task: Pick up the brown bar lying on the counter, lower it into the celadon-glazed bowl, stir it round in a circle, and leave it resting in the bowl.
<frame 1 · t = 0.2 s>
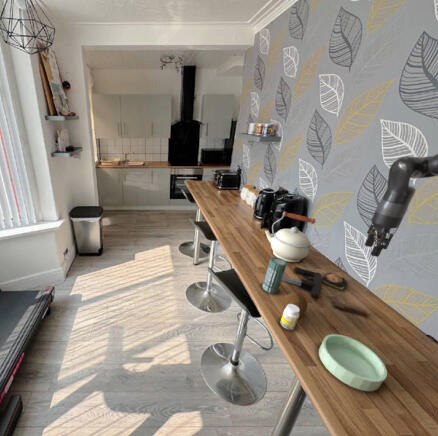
hand: (370, 250, 92), 25 cm above the table, tool pointing down, fingers open, 8 cm apart
potato: (292, 311, 94), on the table
supplement bottle: (286, 325, 88), on the table
bowl: (347, 365, 74), on the table
kettle: (283, 254, 134), on the table
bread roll: (334, 282, 113), on the table
brown bar: (350, 310, 96), on the table
can: (269, 289, 106), on the table
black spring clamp: (301, 282, 111), on the table
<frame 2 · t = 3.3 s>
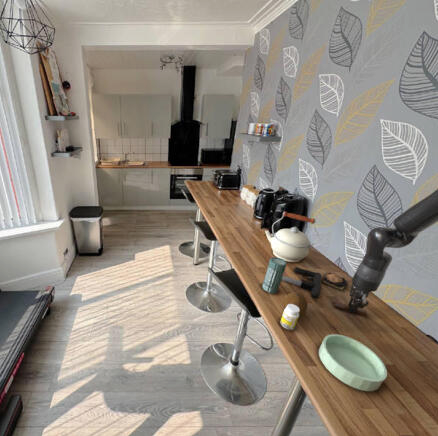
hand: (350, 310, 96), 0 cm above the table, tool pointing down, fingers closed on brown bar, 1 cm apart
brown bar: (350, 310, 96), on the table, touching gripper
everything else where it was.
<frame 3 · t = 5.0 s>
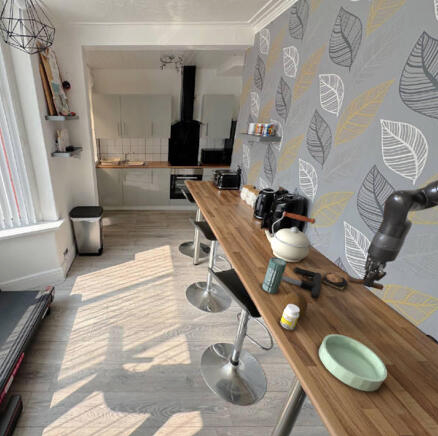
hand: (366, 284, 89), 14 cm above the table, tool pointing down, fingers closed on brown bar, 1 cm apart
brown bar: (365, 284, 89), point 14 cm above the table, touching gripper
everything else where it was.
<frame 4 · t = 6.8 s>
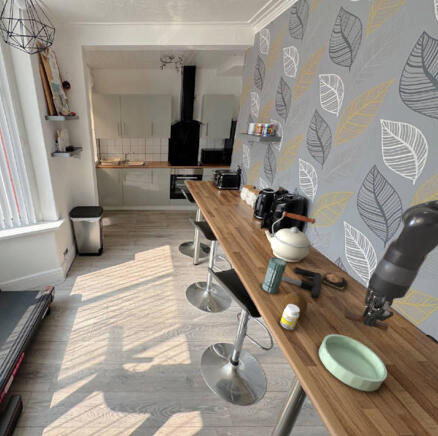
hand: (366, 322, 71), 15 cm above the table, tool pointing down, fingers closed on brown bar, 1 cm apart
brown bar: (365, 322, 71), point 15 cm above the table, touching gripper
everything else where it was.
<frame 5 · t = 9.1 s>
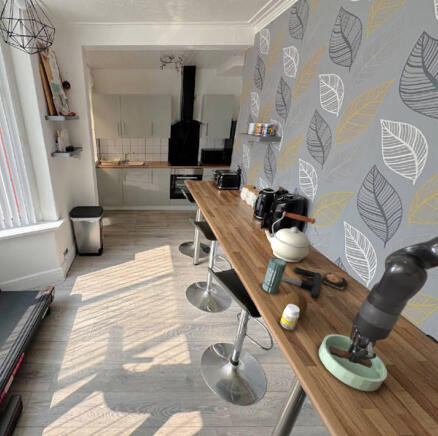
hand: (351, 358, 73), 3 cm above the table, tool pointing down, fingers closed on brown bar, 1 cm apart
brown bar: (351, 358, 73), point 3 cm above the table, touching gripper
everything else where it was.
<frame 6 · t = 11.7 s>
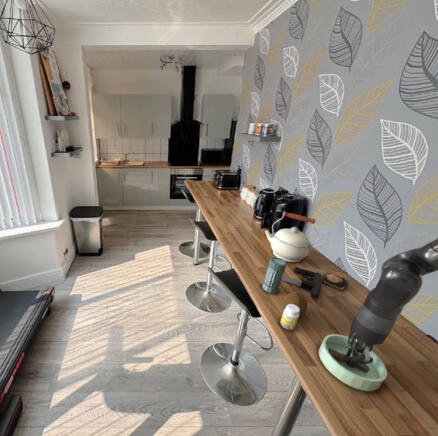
hand: (349, 362, 73), 1 cm above the table, tool pointing down, fingers closed on brown bar, 1 cm apart
brown bar: (348, 362, 74), point 1 cm above the table, tilted 8°, touching gripper
everything else where it was.
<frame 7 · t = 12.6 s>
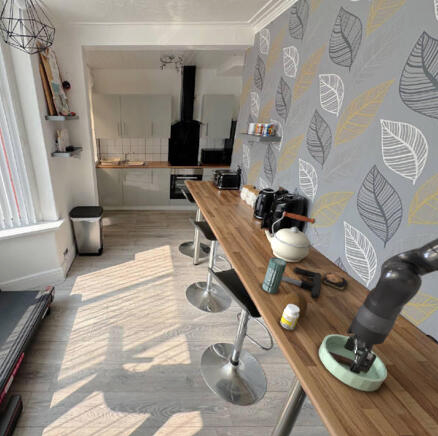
hand: (350, 359, 73), 2 cm above the table, tool pointing down, fingers open, 8 cm apart
brown bar: (347, 364, 74), point 1 cm above the table, touching bowl
everything else where it was.
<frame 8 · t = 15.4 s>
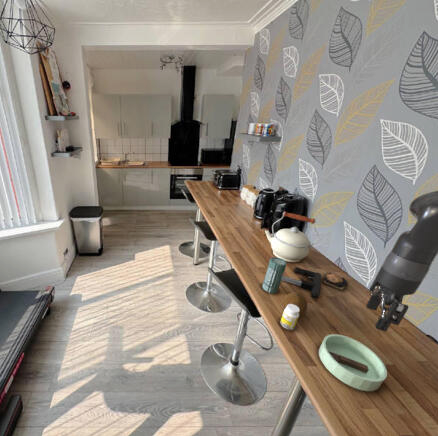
hand: (375, 318, 66), 20 cm above the table, tool pointing down, fingers open, 8 cm apart
nothing on the table moved.
at the end: brown bar inside the target area in the bowl (0.3 cm from its centre), point 0.6 cm above the bowl's base; brown bar moved 30.8 cm from its start; the gripper is holding nothing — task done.
